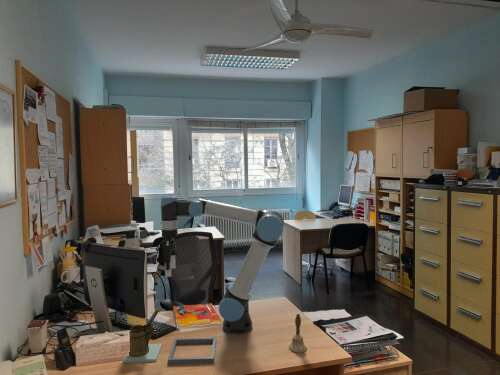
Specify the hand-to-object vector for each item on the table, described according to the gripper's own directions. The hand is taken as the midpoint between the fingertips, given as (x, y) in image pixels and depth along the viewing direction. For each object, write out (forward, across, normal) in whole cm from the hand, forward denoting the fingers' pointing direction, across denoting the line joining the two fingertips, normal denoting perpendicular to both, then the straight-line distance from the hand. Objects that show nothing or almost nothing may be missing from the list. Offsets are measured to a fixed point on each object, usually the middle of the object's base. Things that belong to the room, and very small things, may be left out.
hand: (170, 272), depth 188 cm
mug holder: (+32, +17, +12) cm, 38 cm away
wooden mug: (+31, +17, -10) cm, 36 cm away
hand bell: (+32, +16, +59) cm, 69 cm away
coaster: (+32, +17, -10) cm, 37 cm away
